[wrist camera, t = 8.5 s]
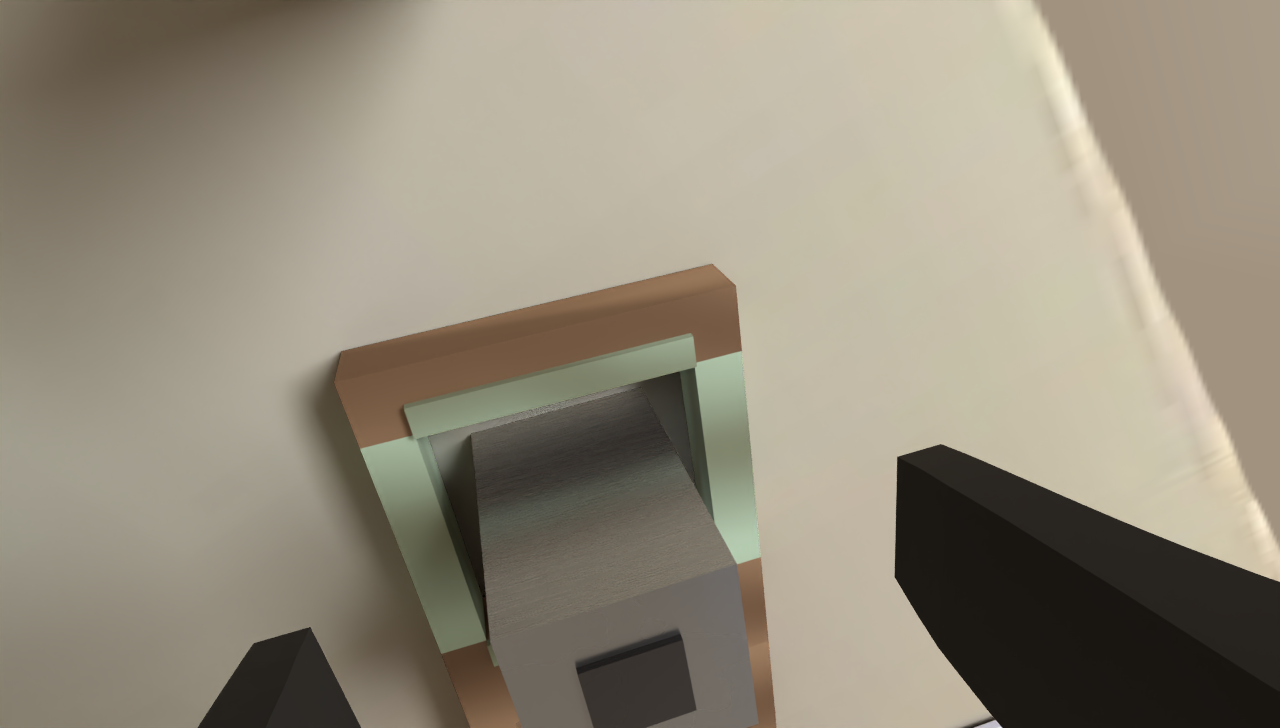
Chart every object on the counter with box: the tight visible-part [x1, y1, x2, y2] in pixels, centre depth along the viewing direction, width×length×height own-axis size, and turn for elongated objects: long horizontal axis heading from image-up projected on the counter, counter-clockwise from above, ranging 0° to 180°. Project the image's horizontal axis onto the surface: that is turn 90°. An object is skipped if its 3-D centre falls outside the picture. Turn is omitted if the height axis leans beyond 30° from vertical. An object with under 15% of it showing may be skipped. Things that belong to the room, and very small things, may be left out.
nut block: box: [471, 387, 759, 728], centre depth 17 cm, size 4×4×7 cm
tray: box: [334, 264, 776, 728], centre depth 22 cm, size 20×9×2 cm, turn 9°
